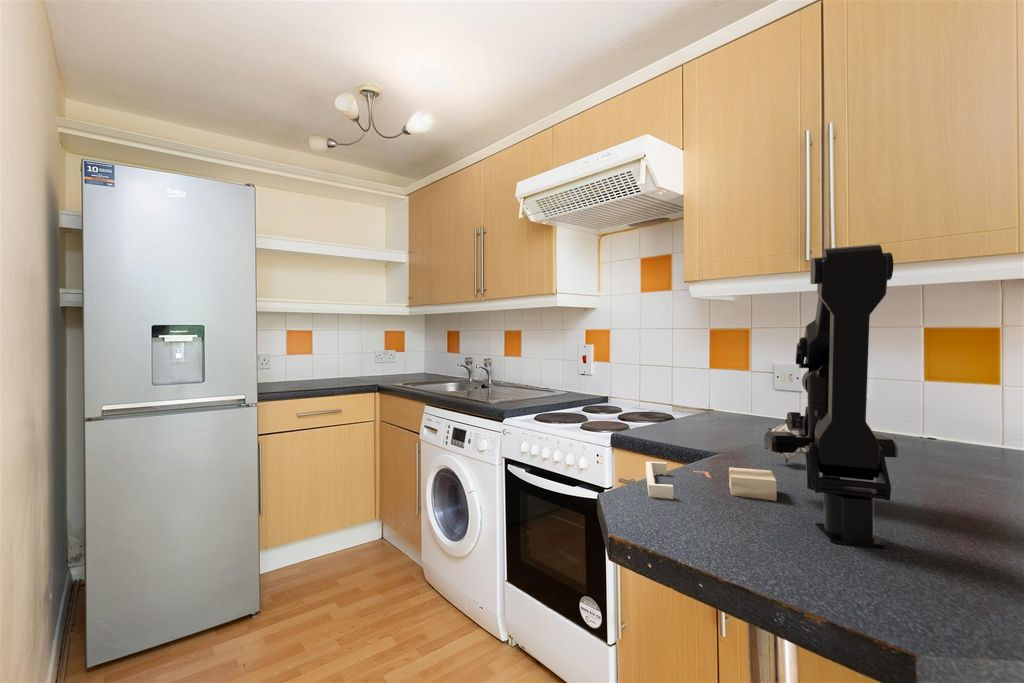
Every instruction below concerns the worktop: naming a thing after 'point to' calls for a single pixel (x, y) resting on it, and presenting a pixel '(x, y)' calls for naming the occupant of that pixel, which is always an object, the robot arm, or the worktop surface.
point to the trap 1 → (705, 473)
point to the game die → (794, 432)
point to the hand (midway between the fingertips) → (827, 493)
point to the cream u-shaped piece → (653, 488)
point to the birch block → (752, 483)
